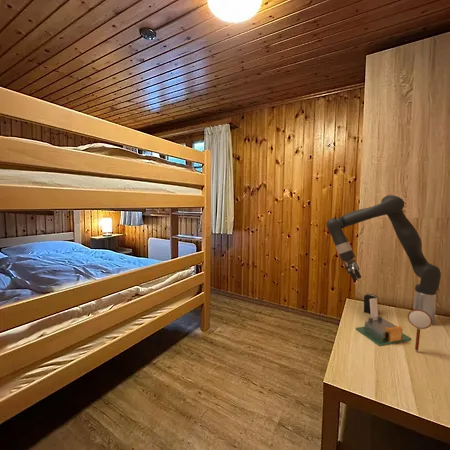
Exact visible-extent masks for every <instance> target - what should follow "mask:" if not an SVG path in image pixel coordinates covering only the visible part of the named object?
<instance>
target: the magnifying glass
mask: <svg viewBox="0 0 450 450" xmlns="http://www.w3.org/2000/svg"><path fill="white" fill-rule="evenodd" d="M407 321H408V322H409V324H410V325H412V326H413V327H414V328H416V337H415V347H414V350H415V352H418V351H419V347H420V346H419V345H420V337H421V329H422V330H426V329H428V328H430V327H431V326H432V325H433V324H432V319H431V317H430V315H429V314H428V313H427V312H425V311H423V310H419V309H415V310H413V309H412V310H410V311H409V312H408V314H407ZM431 324H432V325H431Z"/></svg>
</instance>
